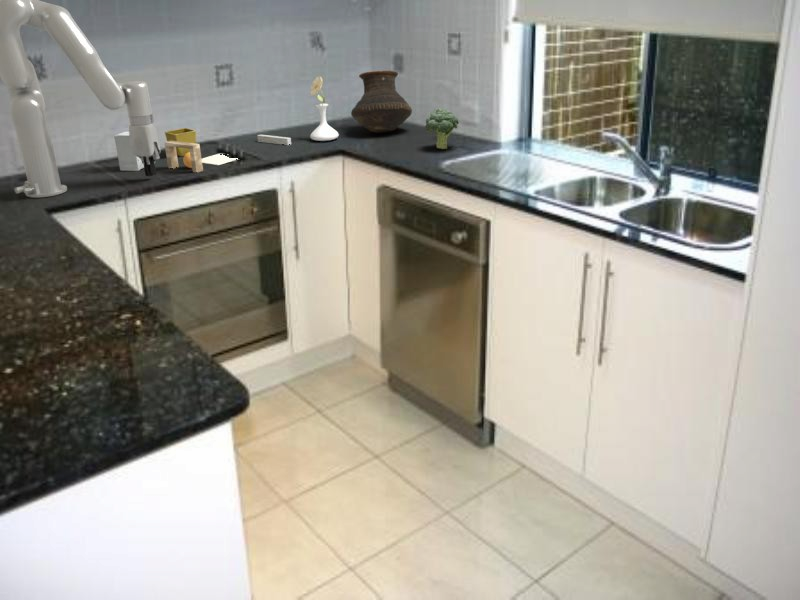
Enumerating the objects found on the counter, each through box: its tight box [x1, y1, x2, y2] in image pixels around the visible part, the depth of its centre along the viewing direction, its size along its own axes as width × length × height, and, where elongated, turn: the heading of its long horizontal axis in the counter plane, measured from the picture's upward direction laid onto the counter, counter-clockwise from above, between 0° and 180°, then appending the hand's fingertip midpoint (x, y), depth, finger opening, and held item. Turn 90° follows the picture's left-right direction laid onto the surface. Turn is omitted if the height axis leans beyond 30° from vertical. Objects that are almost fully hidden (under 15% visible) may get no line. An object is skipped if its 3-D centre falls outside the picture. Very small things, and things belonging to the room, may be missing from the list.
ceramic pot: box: [350, 70, 413, 134], centre depth 314 cm, size 24×24×22 cm
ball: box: [182, 152, 192, 169], centre depth 276 cm, size 6×6×6 cm
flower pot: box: [164, 127, 197, 157], centre depth 295 cm, size 9×9×9 cm
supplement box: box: [113, 131, 144, 172], centre depth 277 cm, size 7×7×13 cm
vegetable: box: [425, 107, 460, 150], centre depth 285 cm, size 12×13×15 cm
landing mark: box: [201, 153, 239, 166], centre depth 287 cm, size 13×13×1 cm
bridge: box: [163, 140, 204, 173], centre depth 273 cm, size 3×15×9 cm, turn 56°
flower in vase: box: [309, 76, 340, 142], centre depth 305 cm, size 13×11×25 cm
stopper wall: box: [256, 134, 292, 146], centre depth 309 cm, size 2×16×2 cm, turn 56°
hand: (150, 175), depth 263 cm, fingers closed
